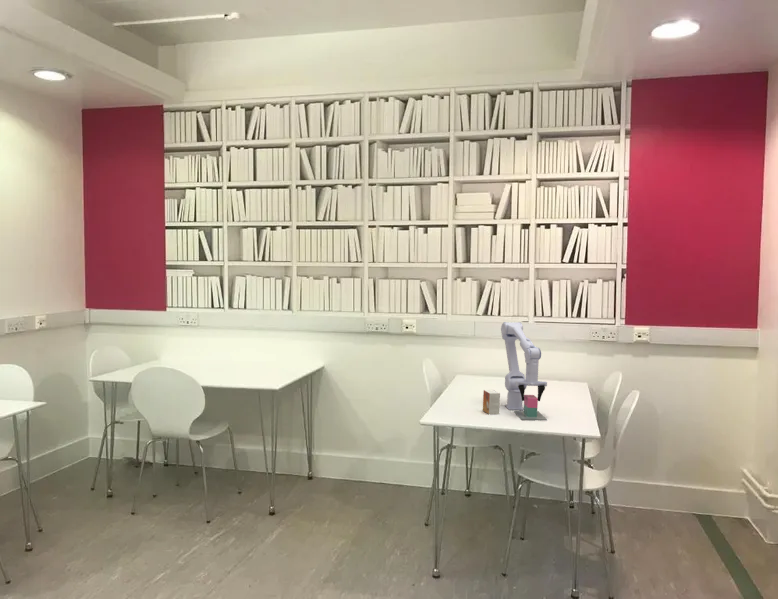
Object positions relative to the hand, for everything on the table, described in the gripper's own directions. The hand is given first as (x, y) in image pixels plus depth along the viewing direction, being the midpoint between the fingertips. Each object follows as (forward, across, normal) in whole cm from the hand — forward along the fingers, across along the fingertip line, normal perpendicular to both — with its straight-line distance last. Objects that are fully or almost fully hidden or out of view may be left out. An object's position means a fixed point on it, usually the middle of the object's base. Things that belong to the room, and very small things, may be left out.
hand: (530, 400), depth 301 cm
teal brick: (+7, 0, 0) cm, 7 cm away
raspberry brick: (+2, 0, 0) cm, 3 cm away
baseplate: (+8, 0, 0) cm, 8 cm away
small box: (+8, -18, +6) cm, 21 cm away
